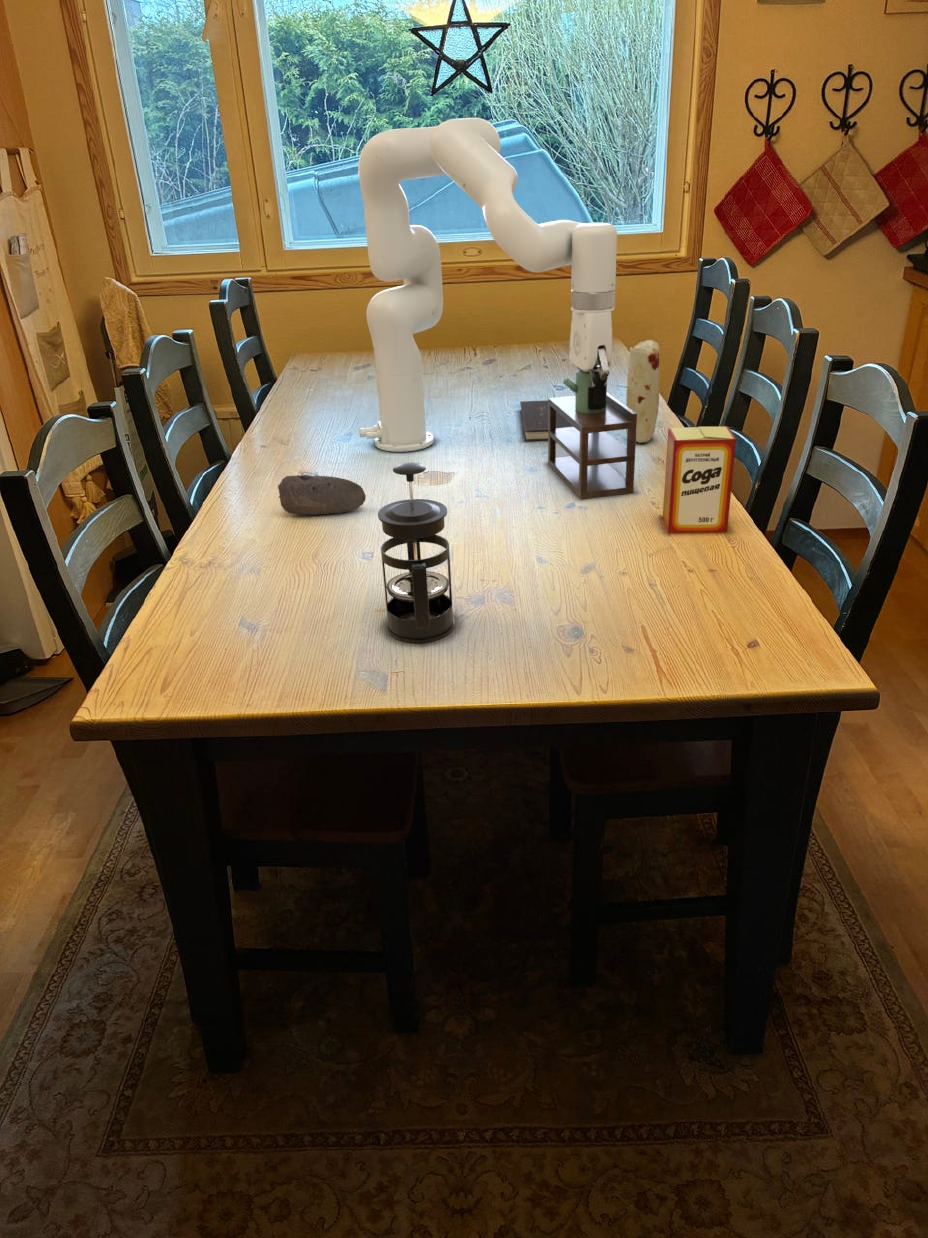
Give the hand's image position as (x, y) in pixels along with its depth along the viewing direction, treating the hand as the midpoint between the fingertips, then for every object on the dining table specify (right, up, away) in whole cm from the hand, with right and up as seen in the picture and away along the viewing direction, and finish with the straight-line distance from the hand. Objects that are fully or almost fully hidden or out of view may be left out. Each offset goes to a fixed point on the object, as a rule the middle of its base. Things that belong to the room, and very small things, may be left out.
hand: (590, 403), depth 171 cm
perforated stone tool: (-48, -21, -3) cm, 52 cm away
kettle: (-1, -1, 0) cm, 2 cm away
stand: (+1, -13, +7) cm, 14 cm away
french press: (-29, -41, -42) cm, 66 cm away
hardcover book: (-2, +4, +38) cm, 38 cm away
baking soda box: (+15, -24, -15) cm, 32 cm away
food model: (+14, -2, +26) cm, 30 cm away
